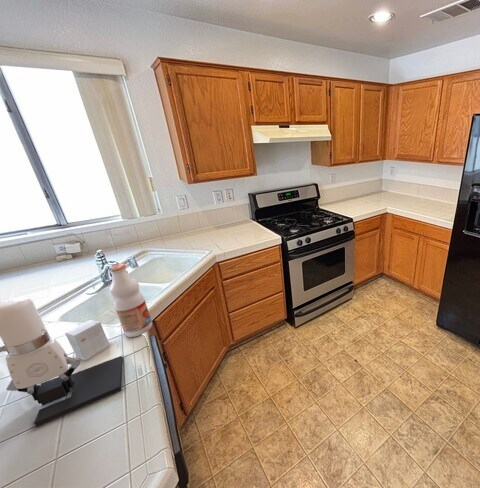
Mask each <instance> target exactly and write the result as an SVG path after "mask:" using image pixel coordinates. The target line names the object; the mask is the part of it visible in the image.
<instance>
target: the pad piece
mask: <svg viewBox="0 0 480 488" xmlns="http://www.w3.org/2000/svg"><path fill="white" fill-rule="evenodd" d="M39 385H40V388H39V390H38V392H37V395H36V396H37V397H38V399H39V401H40V403H41V404H40V405H41V406H42V407H43V406H46V405H48V404H49V405H50V404H51V403H53V402H56V401H59V400H62V399H64V398H67V396H68V393H67V392H66V391H65V389H64V387H63V385H62V379H61V378H60V377H59V376H57V377H54V378H52V379H49V380H46V381H44V382H41V383H40V384H39Z"/></svg>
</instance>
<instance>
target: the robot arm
mask: <svg viewBox="0 0 480 488" xmlns="http://www.w3.org/2000/svg"><path fill="white" fill-rule="evenodd" d="M0 340H1V341H2V343H3V345H2V346H0V353H3V352H4V353H5V352H6V353H7V355H6V356H5V362H6V366H7V370H8V372H9V375H10V378H11V381H10V382H9V384H8V385H7V386H6V391H12V392H19V393H20V392H21V393H27V394H28V395H31V397H32V398H33V400H34V401H35V402H37V403H38V404H39V405H41V403H40V401H39V399H38V397H37V396H36V395H37V392H38V390H39V388H40V385H41V383H43V382H46V381H49V380H51V379H54V378H57V377H60V378H61V379H62V385H63V387H64V389H65V391H66V392H67V394H68V393H71V391H72V388H73V387H72V386H73V381H72V379H71V377H70V376H71V374H74V373H75V370H76V369H77V368H79V366H80V365H81V362H82V359H79V358H78V359H77V358H74V357H71V356H68V354H67V353H66V350H65V349H64V347H62V345H61V343H59V341H58V340H57V339H56V338H55V337H51V336H50V334H49V332H48V330H47V328H46V326H45V324H44V322H43V319H42V317H41V315H40V313H39V310H38V308H37V306H36V305H35V303H34V301H33V300H32V299H31V298H29V297H28V296H27V297H26V296H19V297H12V298H9V299H6V300H0ZM70 365H71V366H70ZM71 387H72V388H71Z"/></svg>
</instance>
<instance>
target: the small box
mask: <svg viewBox="0 0 480 488" xmlns="http://www.w3.org/2000/svg"><path fill="white" fill-rule="evenodd" d="M64 334H65V337H66V339H67V340H68V343H69V345H70V347H71V348H72V351H73V353H74V355H75V357H76V358H78V359H80V360H83V361H87V360H89V359H91V358H92V357H94V356H96V355H97V354H98V353H100V352H102V351H103V350H105V349H106V348H108V347H109V346H110V344H111V343H110V342H109V340H108V337H107V335H106V333H105V330H104V327H103V326H102V323H101V321H97V320H93V319H89V320H87V321H85V322H84V323H83V322H82V323H81V324H79V325H78V326H75V327H73V328H71V329H70V330H68V331H65V332H64Z"/></svg>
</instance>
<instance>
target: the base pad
mask: <svg viewBox="0 0 480 488" xmlns="http://www.w3.org/2000/svg"><path fill="white" fill-rule="evenodd" d="M123 365H124V358H123V356H122V355H119V356H117V357H114V358H111V359H109V360H106V361H103V362H101V363H98V364H95V365H93V366H91V367H87V368H85V369H82V370H80V371H76V372H73V373H72V374H71V376H70V377H71V379H72V381H73V386H72V387H71V392H70V396H69V397H65V398H63V399H61V400H58V401H57V402H55V403H52V404H49V405H47V406H45V407H42V408H40V409H38V412H37V415H36V417H35V420H34V422H33V424H34V425H35V427H36V428H38V427H41V426H43V425H45V424H47V423H50V422H52V421H54V420H56V419H59V418H61V417H64V416H66V415H68V414H71V413H72V412H75V411H77V410H79V409H82V408H84V407H86V406H89V405H91V404H93V403H95V402H96V403H97V402H98V401H100V400H102V399H105V398H107V397H110V396H112V395H114V394H117V393H118V392H120V391H122V386H123V385H122V384H123Z"/></svg>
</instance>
